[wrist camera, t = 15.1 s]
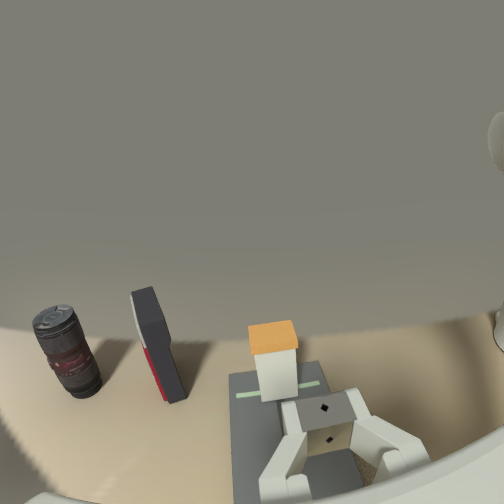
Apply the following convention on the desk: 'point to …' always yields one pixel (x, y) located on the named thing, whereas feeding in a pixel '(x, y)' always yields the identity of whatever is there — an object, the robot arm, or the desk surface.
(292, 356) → the fader knob
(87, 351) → the camera lens
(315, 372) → the fader console
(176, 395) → the calculator
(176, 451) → the desk surface
